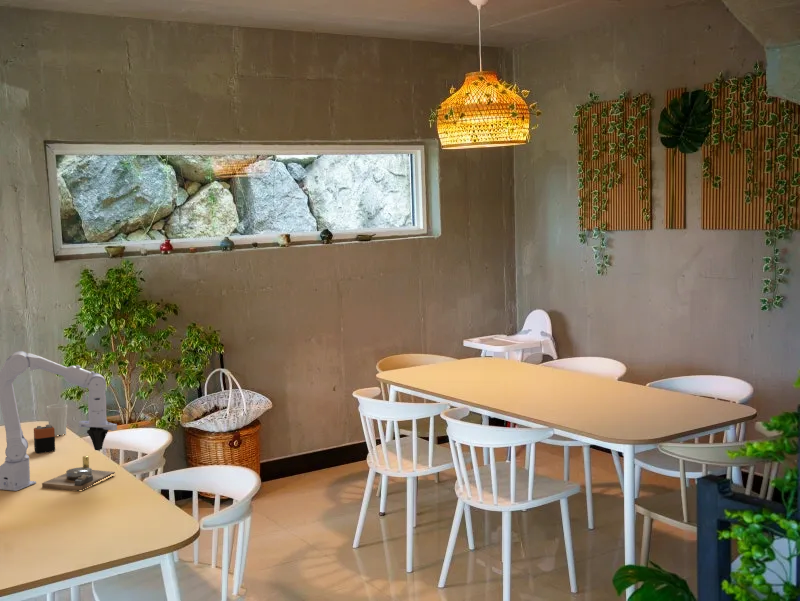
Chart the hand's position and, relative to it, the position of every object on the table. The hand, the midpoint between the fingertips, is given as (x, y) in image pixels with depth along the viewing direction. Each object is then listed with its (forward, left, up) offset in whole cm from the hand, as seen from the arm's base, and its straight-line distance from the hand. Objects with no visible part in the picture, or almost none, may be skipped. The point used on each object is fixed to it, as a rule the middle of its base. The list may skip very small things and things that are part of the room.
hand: (98, 449), depth 291 cm
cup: (+49, +55, -10) cm, 74 cm away
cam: (-4, +4, -8) cm, 10 cm away
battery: (+25, +42, -10) cm, 50 cm away
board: (-6, +4, -10) cm, 12 cm away
